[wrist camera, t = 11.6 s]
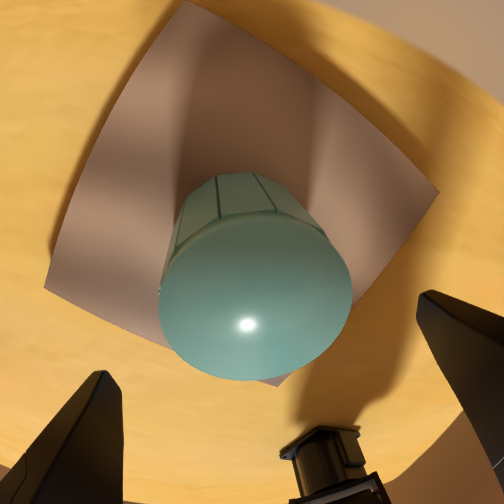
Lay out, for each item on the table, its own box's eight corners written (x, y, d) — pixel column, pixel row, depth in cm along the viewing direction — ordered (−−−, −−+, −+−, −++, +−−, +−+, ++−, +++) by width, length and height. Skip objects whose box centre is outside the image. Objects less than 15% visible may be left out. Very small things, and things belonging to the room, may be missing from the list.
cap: (323, 247, 15) (376, 320, 10) (226, 310, 16) (236, 400, 11) (257, 146, 13) (293, 176, 8) (149, 225, 14) (116, 301, 8)
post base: (273, 371, 21) (289, 434, 16) (53, 274, 16) (13, 333, 11) (424, 184, 16) (487, 218, 11) (187, 9, 11) (177, -39, 6)
